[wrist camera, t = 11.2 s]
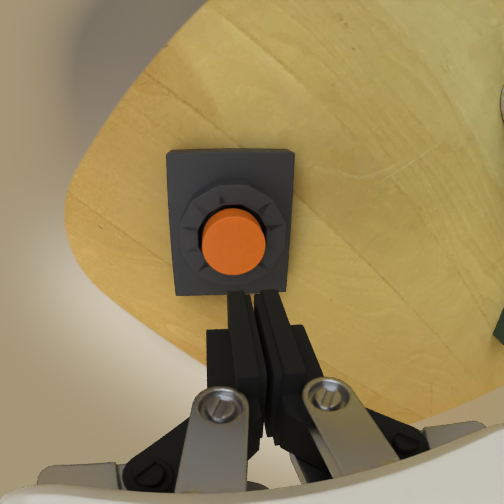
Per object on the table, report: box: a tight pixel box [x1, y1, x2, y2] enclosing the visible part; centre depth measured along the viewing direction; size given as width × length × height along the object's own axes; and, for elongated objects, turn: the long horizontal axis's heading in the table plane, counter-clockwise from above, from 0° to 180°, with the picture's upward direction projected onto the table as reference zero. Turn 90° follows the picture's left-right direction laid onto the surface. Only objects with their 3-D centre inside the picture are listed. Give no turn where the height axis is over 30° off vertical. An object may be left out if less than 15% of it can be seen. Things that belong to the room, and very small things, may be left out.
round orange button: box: [202, 208, 266, 275], centre depth 19 cm, size 4×4×2 cm
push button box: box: [166, 148, 295, 296], centre depth 21 cm, size 10×8×4 cm
